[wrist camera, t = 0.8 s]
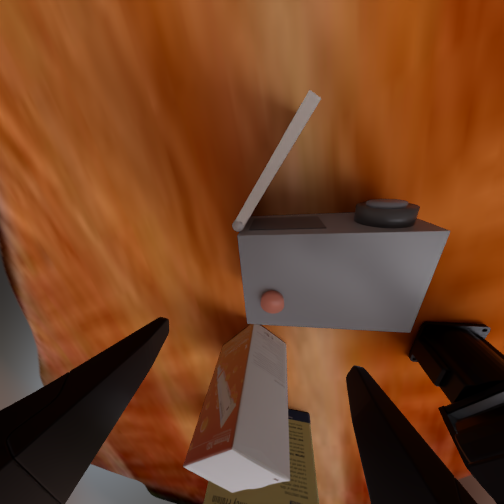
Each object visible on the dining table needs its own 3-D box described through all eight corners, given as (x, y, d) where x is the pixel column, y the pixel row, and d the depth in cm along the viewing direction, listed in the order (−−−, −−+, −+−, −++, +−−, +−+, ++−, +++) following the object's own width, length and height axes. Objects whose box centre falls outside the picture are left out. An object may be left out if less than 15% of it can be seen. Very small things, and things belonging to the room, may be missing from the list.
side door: (298, 114, 15) (307, 88, 10) (308, 121, 15) (321, 99, 10) (242, 211, 19) (229, 227, 14) (250, 216, 19) (240, 233, 14)
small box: (254, 318, 25) (231, 449, 14) (287, 343, 26) (293, 483, 15) (221, 345, 29) (180, 469, 17) (251, 366, 30) (233, 495, 18)
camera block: (400, 194, 16) (468, 209, 10) (376, 289, 21) (414, 338, 15) (248, 201, 19) (233, 218, 13) (254, 286, 23) (246, 328, 17)
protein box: (226, 396, 35) (190, 551, 21) (310, 411, 33) (332, 591, 19) (227, 424, 39) (198, 566, 25) (301, 438, 37) (314, 600, 23)
